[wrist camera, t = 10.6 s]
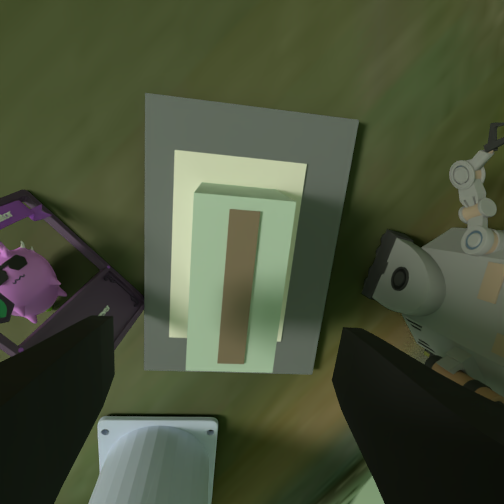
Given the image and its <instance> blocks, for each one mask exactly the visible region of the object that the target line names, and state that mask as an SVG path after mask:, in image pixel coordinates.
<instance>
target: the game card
mask: <svg viewBox="0 0 504 504" xmlns="http://www.w3.org/2000/svg"><path fill="white" fill-rule="evenodd" d="M22 202H25V203H26V204H27V205H28V206H29V207H30V208H32V209H29V208H27V207H26V206H25V205H24V204H23V203H22ZM26 217H30V218H31V219H32V220H34V221H37V220H41V219H44V220H45V221H46V222H47V223H48V224H49V225H51V226H52V227H53V228H54V229H55V230H56V231H57V232H58V233H60V234H61V235H62V236H63V237H64V238H65V239H66V240H67V241H69V242H70V243H71V244H72V245H73V246H74V247H75V248H76V249H77V250H79V251H80V252H81V253H82V254H83V255H84V256H85V257H86V258H88V259H89V260H90V261H91V262H92V263H93V264H94V265H95V266H97V267H98V268H99V270H100V271H99V272H98V273H97V274H96V275H95V276H94V277H93V278H91V279H90V280H89V281H88V282H87V283H86V284H85V285H84V286H83V287H82V288H81V289H80V290H78V291H77V292H76V293H75V294H74V295H73V296H72V297H71V298H70V299H69V300H68V301H66V302H65V303H64V304H63V305H62V306H61V307H60V308H59V309H58V310H57V311H56V312H55V313H53V314H52V315H51V316H50V317H49V318H48V319H47V320H46V321H45V322H44V323H43V324H42V325H40V326H39V327H38V328H37V329H36V330H35V331H34V332H33V333H32V334H31V335H30V336H29V337H27V338H26V339H25V340H24V341H23V342H22V343H21V344H20V345H19V346H17V345H16V344H15V343H13V342H12V341H10V340H9V339H8V338H6V337H5V336H4V335H2V334H1V333H0V349H1V350H3V351H4V352H5V353H7V354H8V355H10V356H11V357H12V356H14V355H16V354H18V353H20V352H22V351H24V350H26V349H28V348H30V347H32V346H34V345H36V344H38V343H40V342H41V341H43V340H45V339H47V338H49V337H51V336H53V335H55V334H56V333H58V332H60V331H62V330H64V329H66V328H67V327H69V326H71V325H73V324H75V323H77V322H79V321H81V320H83V319H85V318H87V317H89V316H92V315H97V316H113V324H114V350H115V349H116V348H117V346H118V345H119V343H120V342H121V341H122V339H123V338H124V336H125V335H126V334H127V332H128V331H129V329H130V328H131V327H132V325H133V324H134V322H135V321H136V320H137V318H138V317H139V316H140V314H141V313H142V311H143V310H144V309H145V308H144V296H143V295H142V294H141V293H140V292H139V291H138V290H136V289H135V288H134V287H133V286H132V285H131V284H130V283H129V282H128V281H127V280H125V279H124V278H123V277H122V276H121V275H120V274H119V273H118V272H117V271H116V270H114V269H113V268H112V267H111V266H110V265H109V264H108V263H107V262H106V261H105V260H103V259H102V258H101V257H100V256H99V255H98V254H97V253H96V252H95V251H93V250H92V249H91V248H90V247H89V246H88V245H87V244H86V243H85V242H84V241H82V240H81V239H80V238H79V237H78V236H77V235H76V234H75V233H74V232H73V231H71V230H70V229H69V228H68V227H67V226H66V225H65V224H64V223H63V222H62V221H60V220H59V219H58V218H57V217H56V216H55V215H54V214H53V213H52V212H51V211H49V210H48V209H47V208H46V207H45V206H44V205H43V204H42V203H41V202H39V201H38V200H37V199H36V198H35V197H34V196H33V195H32V194H31V193H30V192H28V191H26V190H20V191H17V192H15V193H12V194H10V195H7V196H5V197H2V198H0V229H2V228H4V227H6V226H8V225H10V224H12V223H15V222H17V221H19V220H21V219H23V218H26ZM0 252H1V253H0V323H5V322H9V321H10V318H11V315H15V316H23V317H26V318H27V319H29V320H30V321H31V322H33V323H37V317H36V315H38V314H40V313H43V312H45V311H51V310H52V305H53V304H54V302H55V301H56V299H57V297H58V296H67V293H66V292H65V291H63V290H62V289H61V288H60V287H59V285H61V283H60V282H59V281H58V280H57V277H56V274H55V272H54V270H53V268H52V267H51V265H50V264H49V262H48V261H47V260H46V259H45V258H44V257H42V256H41V255H39V254H37V253H36V252H35V251H34V249H33V247H32V246H31V249H29V250H28V249H26V248H25V245H24V243H23V242H22V241H21V247H19V248H17V249H15V250H8V249H7V248H6V247H5V246H4V245H3V244H2V243H1V242H0Z"/></svg>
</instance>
